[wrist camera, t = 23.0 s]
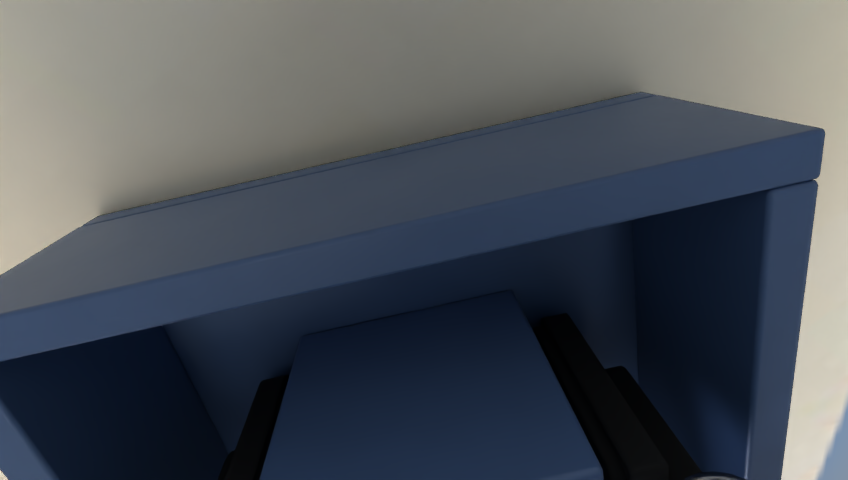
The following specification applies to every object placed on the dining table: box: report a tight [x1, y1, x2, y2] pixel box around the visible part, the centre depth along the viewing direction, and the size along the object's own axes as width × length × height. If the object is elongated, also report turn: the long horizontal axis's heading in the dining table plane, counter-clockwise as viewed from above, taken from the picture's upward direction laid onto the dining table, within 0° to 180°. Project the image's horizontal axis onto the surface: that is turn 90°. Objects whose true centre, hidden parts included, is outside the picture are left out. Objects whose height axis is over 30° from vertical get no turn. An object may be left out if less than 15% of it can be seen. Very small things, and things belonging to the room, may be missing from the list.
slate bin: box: [0, 92, 825, 480], centre depth 9 cm, size 11×11×4 cm
